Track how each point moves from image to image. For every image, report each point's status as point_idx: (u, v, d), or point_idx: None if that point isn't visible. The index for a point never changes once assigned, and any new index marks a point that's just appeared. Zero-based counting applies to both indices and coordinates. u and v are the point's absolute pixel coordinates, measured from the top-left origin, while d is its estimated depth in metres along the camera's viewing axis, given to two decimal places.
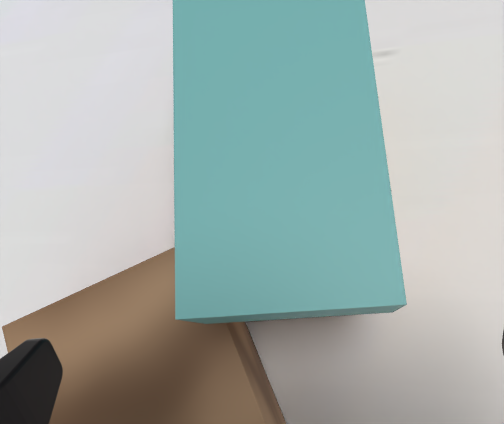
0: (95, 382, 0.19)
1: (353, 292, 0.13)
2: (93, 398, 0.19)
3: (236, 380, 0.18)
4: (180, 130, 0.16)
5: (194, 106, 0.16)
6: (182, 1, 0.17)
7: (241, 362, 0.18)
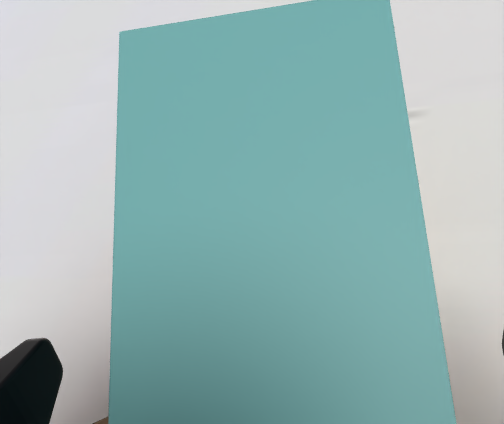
0: None
1: None
2: None
3: None
4: (122, 291, 0.10)
5: (144, 252, 0.10)
6: (132, 83, 0.12)
7: None
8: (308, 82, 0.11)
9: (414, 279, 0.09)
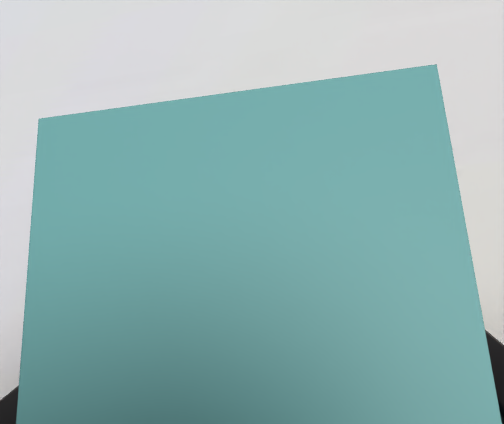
0: None
1: None
2: None
3: None
4: None
5: None
6: (52, 200, 0.08)
7: None
8: (316, 213, 0.07)
9: None
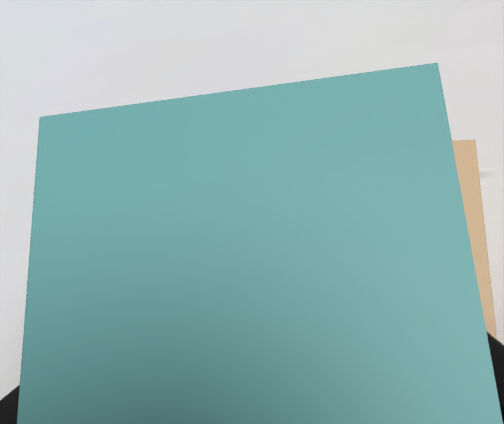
0: None
1: None
2: None
3: None
4: None
5: None
6: (53, 199, 0.08)
7: None
8: (317, 211, 0.07)
9: None
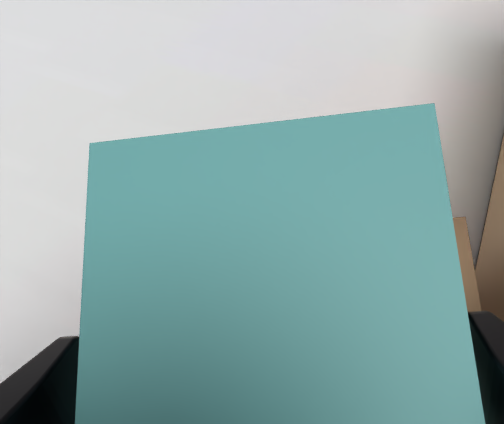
0: None
1: None
2: None
3: None
4: None
5: None
6: (103, 215, 0.09)
7: None
8: (330, 230, 0.08)
9: None
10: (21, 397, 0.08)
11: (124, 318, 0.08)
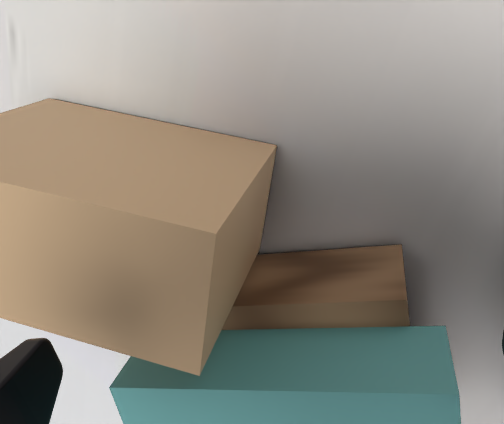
0: None
1: None
2: None
3: (299, 312, 0.19)
4: None
5: None
6: None
7: (285, 303, 0.19)
8: None
9: (278, 398, 0.17)
10: None
11: None
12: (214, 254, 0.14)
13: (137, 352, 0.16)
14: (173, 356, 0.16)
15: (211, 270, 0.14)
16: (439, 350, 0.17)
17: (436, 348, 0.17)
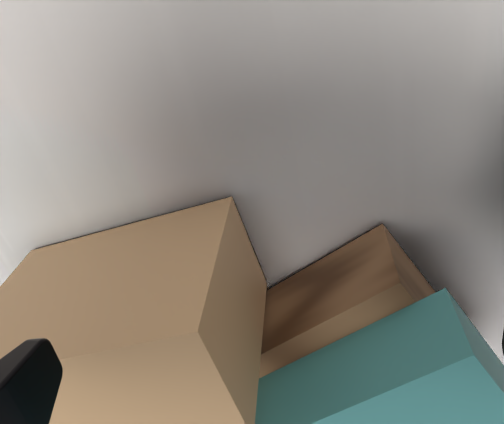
0: None
1: (480, 383, 0.16)
2: None
3: (319, 333, 0.20)
4: None
5: None
6: None
7: (303, 331, 0.21)
8: None
9: (331, 422, 0.18)
10: None
11: None
12: (206, 345, 0.15)
13: None
14: None
15: (211, 359, 0.15)
16: (446, 316, 0.18)
17: (444, 315, 0.18)
